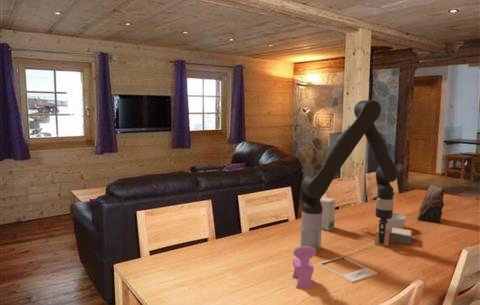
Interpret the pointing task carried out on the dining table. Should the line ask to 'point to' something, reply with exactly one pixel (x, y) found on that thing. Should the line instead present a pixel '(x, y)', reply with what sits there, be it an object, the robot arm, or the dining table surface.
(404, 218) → the ramekin
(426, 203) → the dark rock
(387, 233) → the cube
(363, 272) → the photo frame
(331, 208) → the skincare box
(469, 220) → the dining table surface
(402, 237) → the block
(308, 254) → the purple figurine
